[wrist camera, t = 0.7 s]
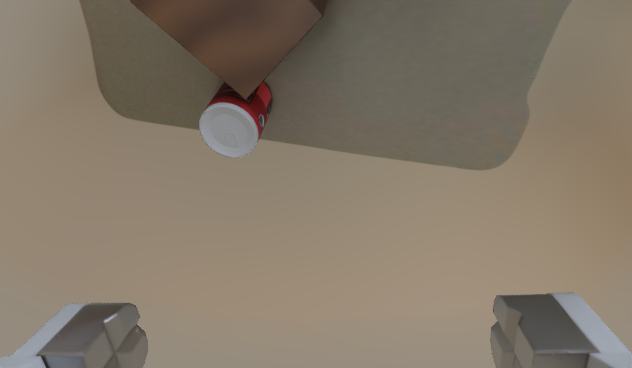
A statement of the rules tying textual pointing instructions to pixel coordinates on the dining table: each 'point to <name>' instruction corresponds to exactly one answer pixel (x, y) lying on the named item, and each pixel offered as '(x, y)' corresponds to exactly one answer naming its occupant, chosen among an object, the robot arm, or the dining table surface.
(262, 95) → the canned food
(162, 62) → the dining table surface
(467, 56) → the dining table surface
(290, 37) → the cabinet
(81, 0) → the dining table surface
